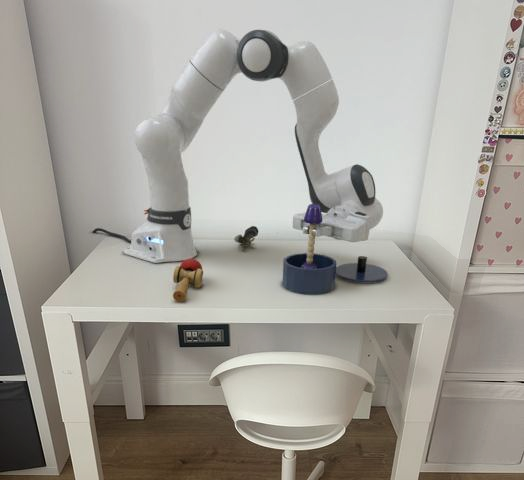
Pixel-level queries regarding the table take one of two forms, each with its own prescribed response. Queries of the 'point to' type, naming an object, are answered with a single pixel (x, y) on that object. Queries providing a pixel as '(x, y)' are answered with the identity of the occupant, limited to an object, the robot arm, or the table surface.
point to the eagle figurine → (247, 237)
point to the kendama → (187, 277)
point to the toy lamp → (312, 217)
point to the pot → (309, 274)
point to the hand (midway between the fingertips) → (309, 231)
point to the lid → (361, 271)
